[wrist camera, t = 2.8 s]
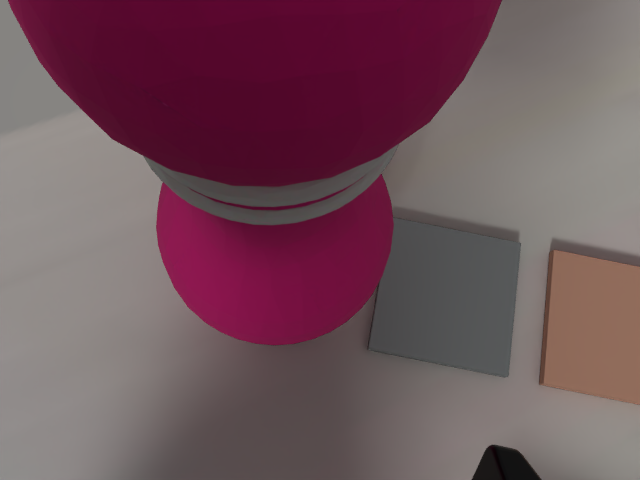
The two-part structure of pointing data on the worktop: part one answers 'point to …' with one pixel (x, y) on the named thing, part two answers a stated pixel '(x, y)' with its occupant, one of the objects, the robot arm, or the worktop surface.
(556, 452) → the worktop surface
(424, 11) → the pepper mill
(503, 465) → the robot arm
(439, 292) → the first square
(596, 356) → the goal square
